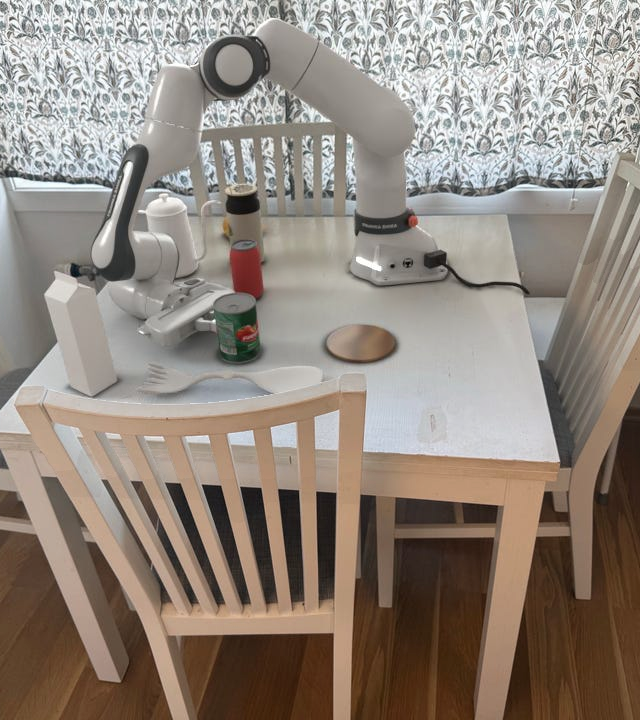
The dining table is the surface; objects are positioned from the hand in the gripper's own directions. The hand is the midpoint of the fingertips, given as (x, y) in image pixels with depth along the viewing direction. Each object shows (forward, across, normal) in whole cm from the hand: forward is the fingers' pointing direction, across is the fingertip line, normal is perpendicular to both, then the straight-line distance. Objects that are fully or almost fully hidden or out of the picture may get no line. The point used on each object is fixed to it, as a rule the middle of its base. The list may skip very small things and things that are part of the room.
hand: (222, 325), depth 129 cm
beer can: (-11, +20, +5) cm, 23 cm away
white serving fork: (+11, -9, +5) cm, 15 cm away
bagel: (-35, +45, +5) cm, 58 cm away
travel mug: (-23, +33, +5) cm, 41 cm away
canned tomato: (+4, 0, +5) cm, 6 cm away
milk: (-12, -22, +5) cm, 26 cm away
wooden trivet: (+22, +15, +5) cm, 27 cm away
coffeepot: (-34, +20, +5) cm, 40 cm away
